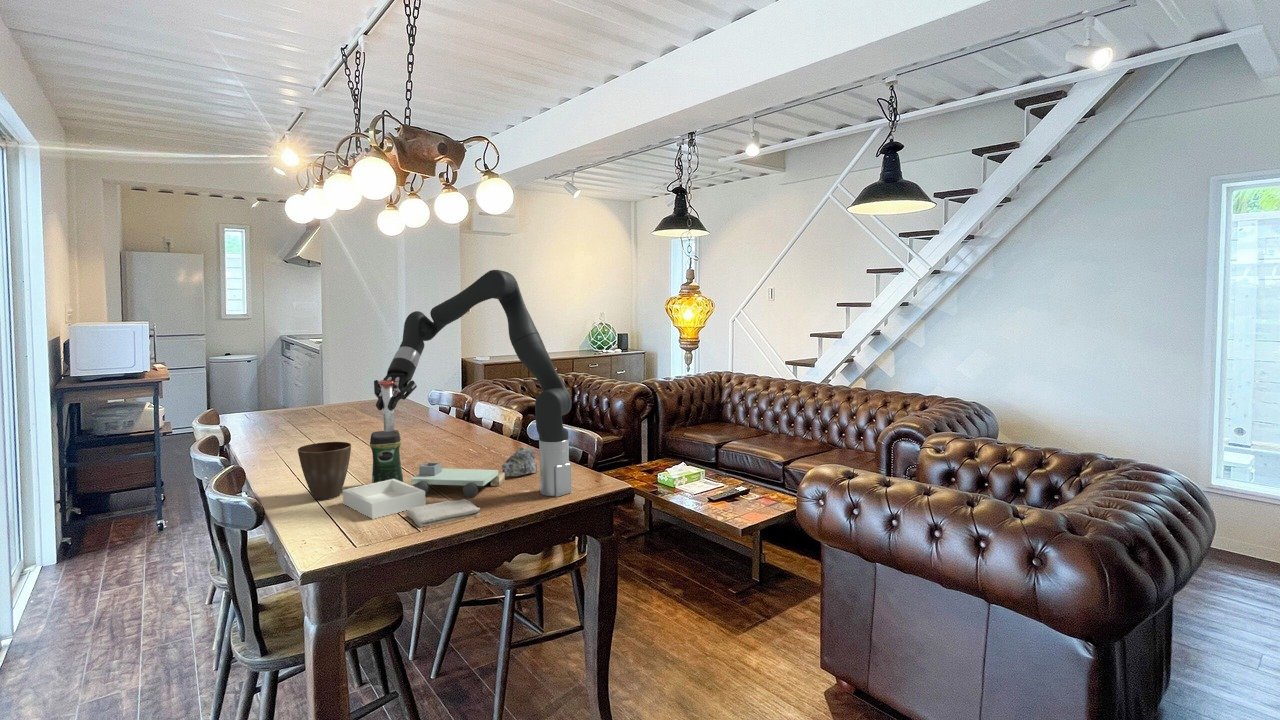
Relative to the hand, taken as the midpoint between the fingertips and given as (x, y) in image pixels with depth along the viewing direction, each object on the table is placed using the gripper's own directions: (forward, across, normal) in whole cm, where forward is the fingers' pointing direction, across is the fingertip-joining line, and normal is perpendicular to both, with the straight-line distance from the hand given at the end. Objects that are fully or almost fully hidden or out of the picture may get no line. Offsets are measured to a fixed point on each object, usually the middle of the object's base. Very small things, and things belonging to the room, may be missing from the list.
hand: (384, 408), depth 183 cm
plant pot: (+18, -23, +24) cm, 38 cm away
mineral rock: (-5, +28, +46) cm, 54 cm away
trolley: (+9, +14, +32) cm, 36 cm away
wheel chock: (+4, +25, +38) cm, 45 cm away
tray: (+22, 0, +20) cm, 29 cm away
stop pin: (+3, 0, +6) cm, 7 cm away
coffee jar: (+8, -11, +33) cm, 36 cm away
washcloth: (+27, +22, +15) cm, 38 cm away
